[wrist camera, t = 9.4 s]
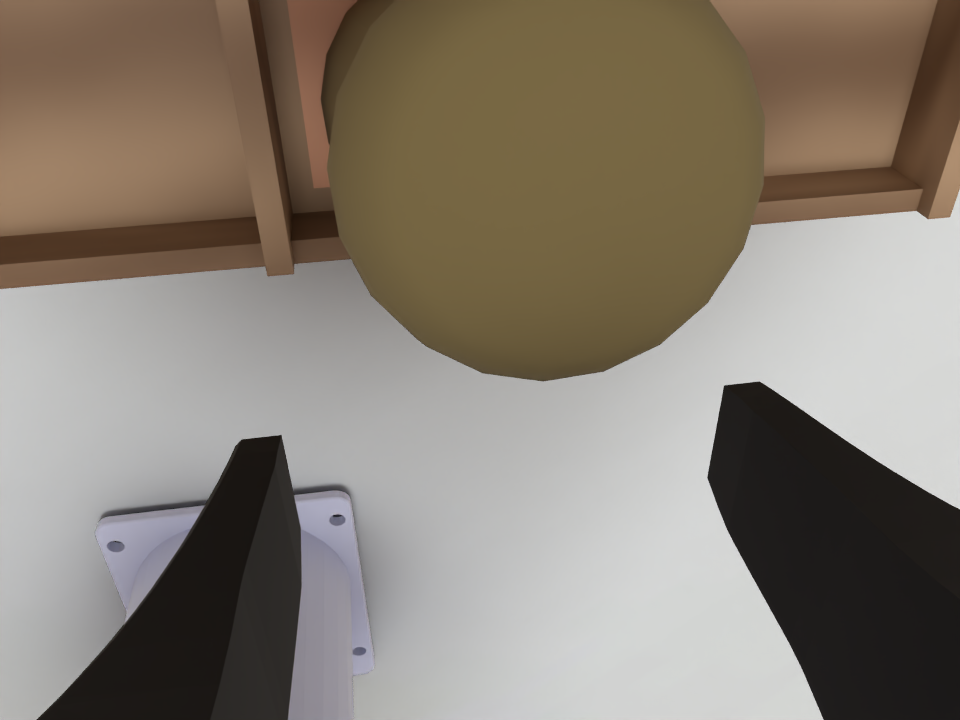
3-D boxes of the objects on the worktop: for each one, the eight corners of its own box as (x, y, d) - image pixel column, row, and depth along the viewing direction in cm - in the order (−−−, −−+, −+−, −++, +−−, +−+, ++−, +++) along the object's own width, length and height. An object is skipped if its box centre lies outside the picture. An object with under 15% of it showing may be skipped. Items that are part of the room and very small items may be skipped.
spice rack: (885, 171, 23) (987, 243, 20) (-61, 246, 21) (-144, 347, 17) (993, -217, 18) (1159, -215, 15) (-250, -186, 15) (-429, -175, 12)
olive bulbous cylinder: (432, -113, 17) (545, -315, 7) (641, 79, 19) (967, 141, 9) (265, 128, 18) (155, 257, 8) (478, 284, 20) (602, 542, 10)
